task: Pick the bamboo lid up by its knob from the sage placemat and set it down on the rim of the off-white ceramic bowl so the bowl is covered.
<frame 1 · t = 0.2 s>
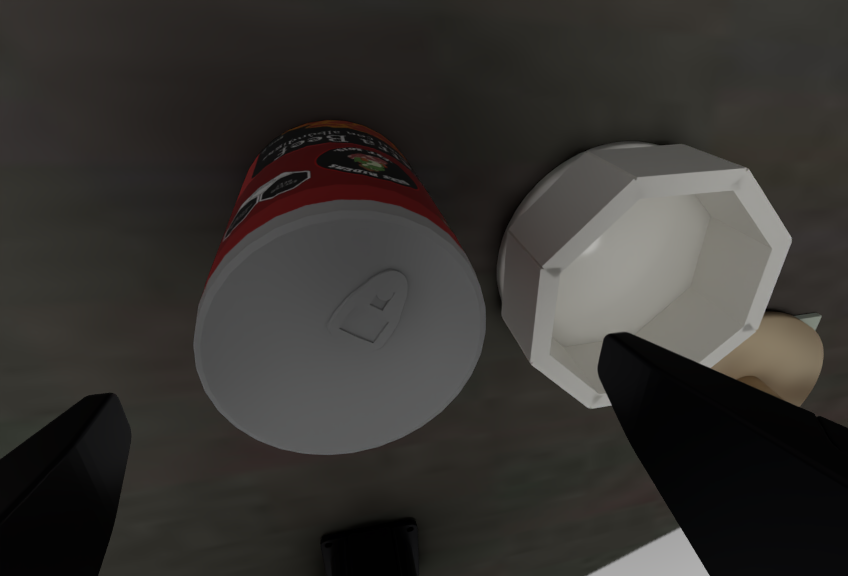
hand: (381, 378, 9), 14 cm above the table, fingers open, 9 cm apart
canned food: (331, 204, 23), on the table
bowl: (603, 254, 27), on the table
lid: (730, 386, 34), resting on mat
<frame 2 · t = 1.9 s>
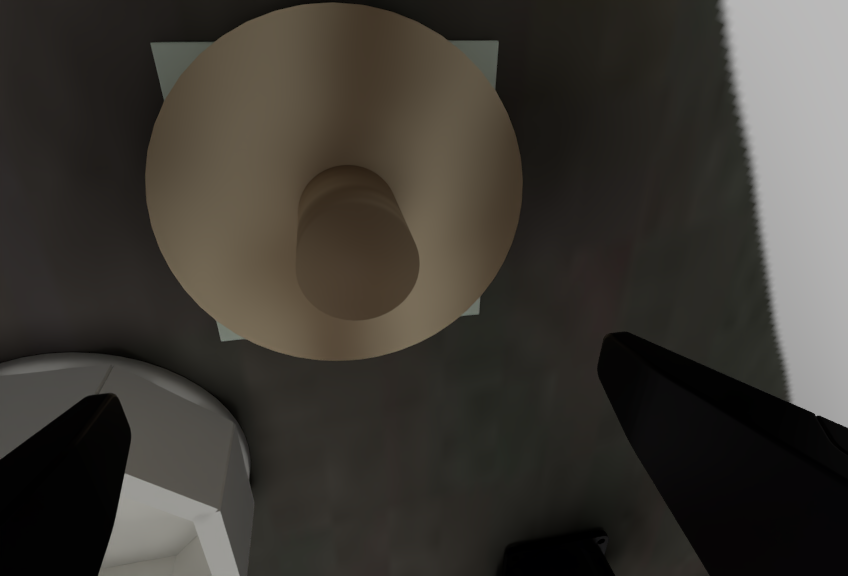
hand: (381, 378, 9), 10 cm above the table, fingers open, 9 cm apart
mat: (346, 201, 17), on the table
bowl: (99, 469, 21), on the table
lid: (346, 204, 17), resting on mat
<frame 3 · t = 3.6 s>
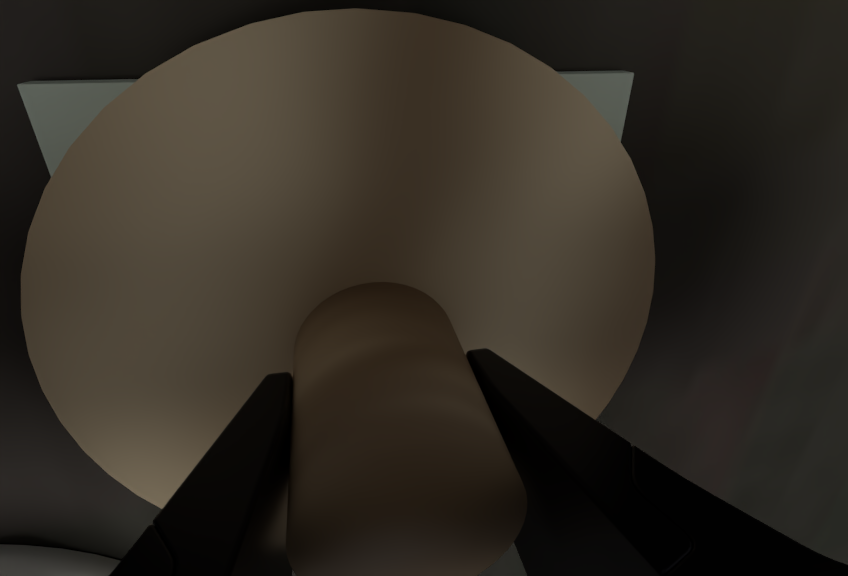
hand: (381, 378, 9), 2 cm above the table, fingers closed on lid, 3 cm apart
mat: (370, 320, 11), on the table
lid: (372, 330, 11), resting on mat, touching gripper
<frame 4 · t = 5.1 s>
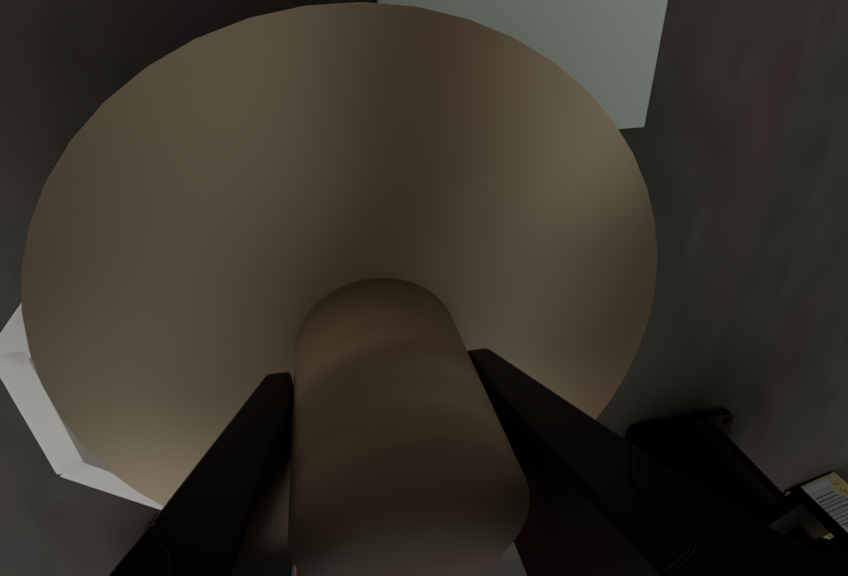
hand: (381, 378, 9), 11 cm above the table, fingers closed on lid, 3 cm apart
bowl: (248, 306, 20), on the table
candy box: (802, 510, 38), on the table
lid: (373, 326, 11), point 9 cm above the table, touching gripper
when the fingers open (7 cm above the table, at t = 6.7 s): lid stays where it is, resting on bowl.
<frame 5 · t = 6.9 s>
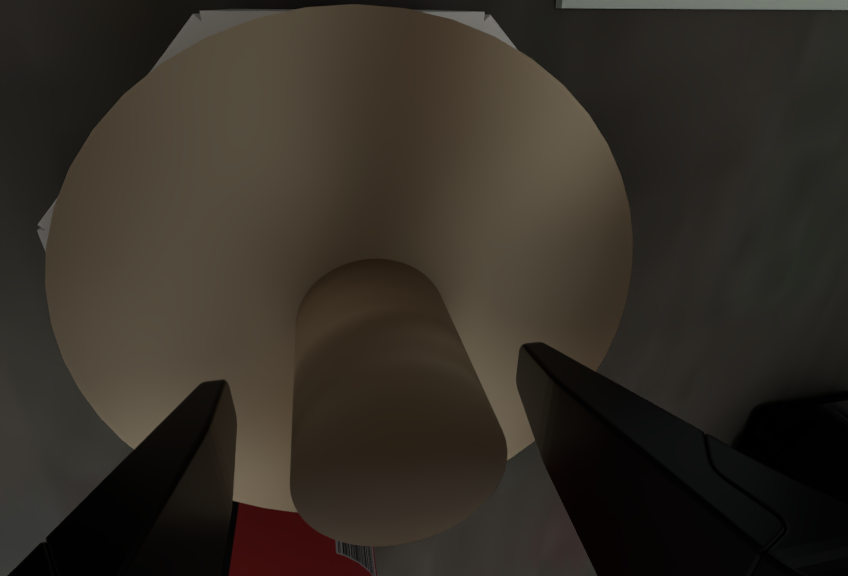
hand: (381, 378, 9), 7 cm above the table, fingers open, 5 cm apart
canned food: (280, 525, 22), on the table
bowl: (350, 226, 16), on the table
lid: (368, 306, 11), point 5 cm above the table, touching bowl
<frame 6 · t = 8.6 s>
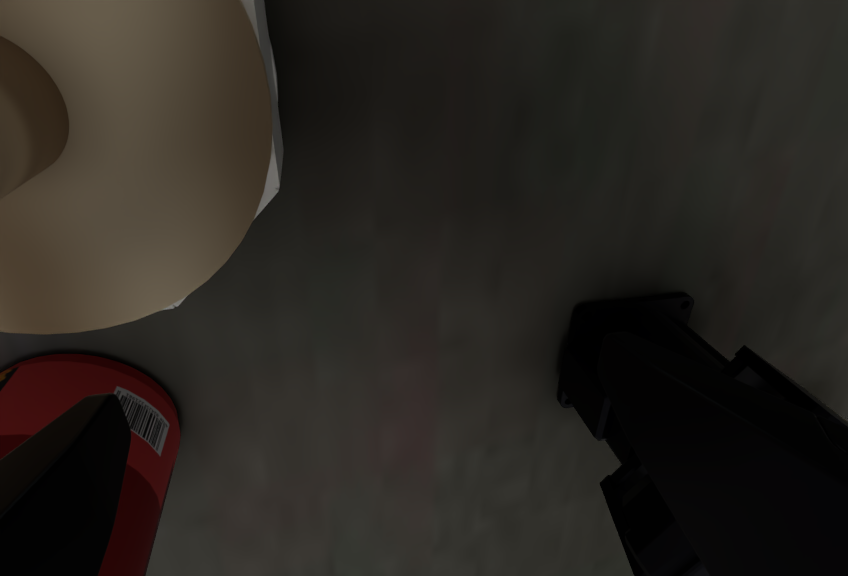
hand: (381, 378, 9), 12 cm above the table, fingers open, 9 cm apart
canned food: (88, 414, 22), on the table
bowl: (80, 74, 16), on the table
lid: (2, 100, 12), point 5 cm above the table, touching bowl
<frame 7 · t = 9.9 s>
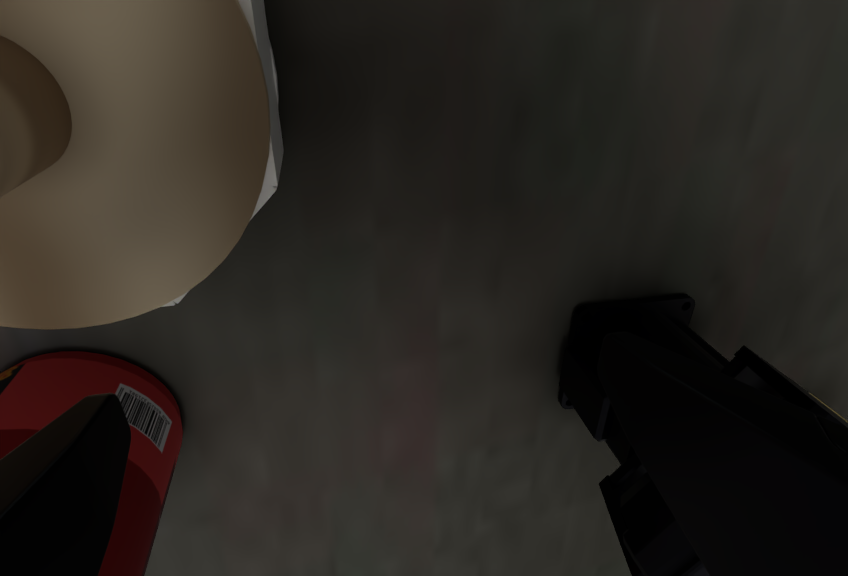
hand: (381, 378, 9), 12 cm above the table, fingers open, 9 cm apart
canned food: (93, 412, 23), on the table
bowl: (86, 77, 16), on the table
lid: (8, 100, 12), point 5 cm above the table, touching bowl
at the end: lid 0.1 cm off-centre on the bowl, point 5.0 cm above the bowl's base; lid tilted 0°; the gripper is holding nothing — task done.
